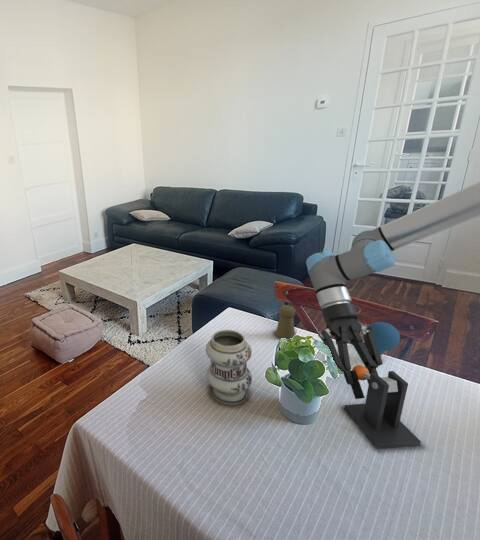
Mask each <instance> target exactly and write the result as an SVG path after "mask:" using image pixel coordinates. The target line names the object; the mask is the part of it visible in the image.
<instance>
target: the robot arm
mask: <svg viewBox="0 0 480 540" xmlns="http://www.w3.org/2000/svg"><path fill="white" fill-rule="evenodd" d="M479 217H480V181H478V182H476V183H474V184H473V183H472V184H471V185H468V186H467V187H465V188H463V189H461V190H458V191H456V192H454V193H452V194H449V195H447V196H444V197H443V198H440V199H438V200H436V201H433V202H432V203H429V204H427V205H425V206H422V207H421V208H418V209H415V210H414V211H411V212H410V213H406V214H405V215H402V216H401V217H399V218H396V219H393V220H392V221H389V222H387V223H385V224H383V225H381V226H379V227H376V228H374V229H367V230H366V229H365V230H362V231H361V232H359V233H358V234H357V235H355V237H353V240H352V242H351V247H350V249H349V250H347V251H345V252H343V253H340V254H337V255H335V254H334V253H333V252H332V251H327V250H326V251H321V252H316V253H313V254H312V255H310V256H308V257H307V258H306V261H305V265H306V267H307V274H308V276H309V278H310V280H311V284H312V287H313V289H314V292H315V295H316V298H317V301H318V305H319V307H320V308H321V309H322V310H321V313H322V316H323V320H324V322H325V323H326V325H325V326H326V327H325V329H324V330H321V331H319V332H318V333H317V336H318V337H319V339H320V340H321V341H322V342H323V343H322V344H323V345H324V344H325V345H327V346H328V347H329V349H330V351H331V354H332V357H333V360H334V361H335V363H336V365H337V367H338V368H339V369H340V370H341V371H342V372H341V371H340V370H339V371H340V372H341V373H342V374H343V377H344V380H345V383H346V384H347V385H348V386H350V387H351V391H352V393H353V396H354V399H355V400H359V399H360V400H361V399H366V397H365V394H364V391H363V389H362V385H361V383H360V380H358V377H357V374H356V372H355V370H352V366H351V359H350V354H349V348H348V341H349V343H350V344H351V345H352V346H353V348H354V350H355V351H356V353H357V355H358V357H359V358H360V360H361V362H362V364H363V366H364V367H366V368H367V369H368V370H369V373H370V374H371V373H376V374H377V375H378V376H379V373H378V370H377V369H378V368H379V367H380V366H382V365H383V364H384V362H383V360H382V359H383V358H381V356H380V353H379V350H378V347H377V344H376V341H375V338H374V328H373V327H372V326H370V327H367V326H366V325H362V323H361V322H360V321H359V319H358V314H357V312H356V309H355V306H354V304H353V303H352V298H351V295H350V293H349V290H348V288H347V286H346V282H348V281H349V282H350V281H351V280H355V279H358V278H361V277H364V276H368V275H372V274H374V273H380V272H382V271H384V270H387V269H389V268H391V267H393V266H394V265H395V263H396V260H395V257H394V254H393V252H394V251H396V250H398V249H401V248H403V247H406V246H409V245H410V244H413V243H416V242H418V241H421V240H423V239H426V238H428V237H431V236H434V235H436V234H439V233H441V232H444V231H446V230H449V229H451V228H454V227H456V226H459V225H461V224H464V223H467V222H469V221H472V220H474V219H477V218H479ZM361 335H363V336H361ZM332 337H334V340H335V343H334V340H333V339H332ZM362 337H363V338H362ZM363 341H364V342H363ZM335 345H336V346H335ZM336 347H337V348H336ZM366 381H367V384H368V385H369V379H366Z"/></svg>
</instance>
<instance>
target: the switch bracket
mask: <svg viewBox="0 0 480 540" xmlns="http://www.w3.org/2000/svg"><path fill="white" fill-rule="evenodd" d="M387 377H388V378H391V379H393V380H396V381H397V387H398V392H388V389H389V385H388V384H387V383H386V382H385V381H384V380H383V379H382V377H381V376H379V374H378V375H377V374H376V373H371V374H370V380H369V384H368V386H367V390H366V391H367V392H366V397H365V403H354V404H353V403H352V404H345V405H344V408H343V409H344V411H345V412H346V413H347V414H348V415H349V417H350V418H351V419H352V420H353V421H354V423H355V424H356V425H357V426H358V428H360V430H361V431H362V432H363V433H364V435H366V437H367V438H368V440H369V441H371V443H372V444H373V445H374V447H375V448H376V449H377V450H380V449H397V448H409V447H419V446H421V443H422V441H421V440H420V439H419V438H418V437H417V436H416V435H415V434H414V433H413V432H412V431H411V430H410V429H409V428H408V427H407V426H406V425H405V424H404V423H403V422H402V421H401V418H402V413H403V410H404V404H405V400H406V396H407V391H408V387H409V383H408V382H407V381H406V380H405V379H403V378H402V377H401V376H400V375H399V374H397V373H396V372H395V371H394V370H389V371H388V372H387Z"/></svg>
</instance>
